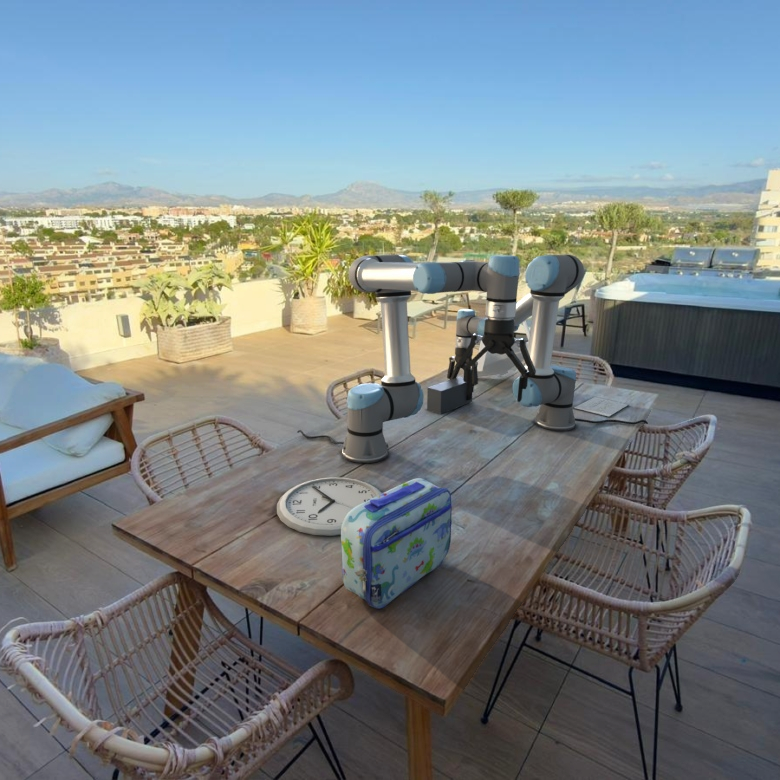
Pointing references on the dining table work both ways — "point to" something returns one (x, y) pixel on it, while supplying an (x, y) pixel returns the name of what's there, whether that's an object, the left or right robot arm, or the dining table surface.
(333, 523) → the wall clock
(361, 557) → the lunch box
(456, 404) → the box
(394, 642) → the dining table surface
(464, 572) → the dining table surface
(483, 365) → the white plastic object
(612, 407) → the invitation card
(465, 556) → the dining table surface
